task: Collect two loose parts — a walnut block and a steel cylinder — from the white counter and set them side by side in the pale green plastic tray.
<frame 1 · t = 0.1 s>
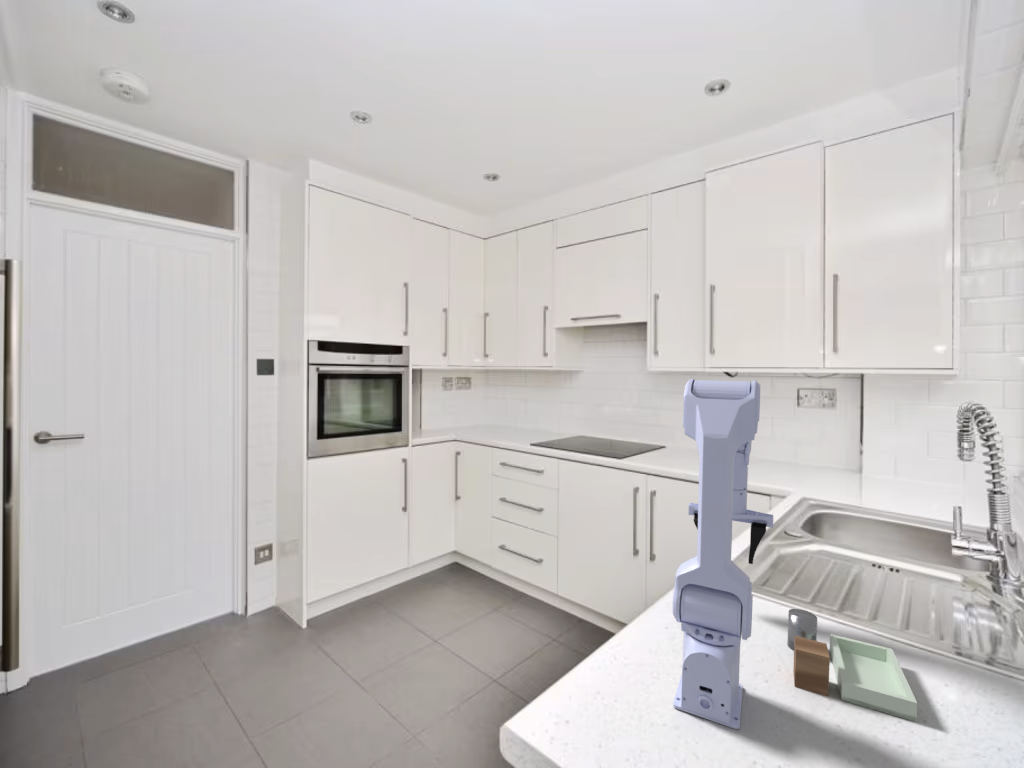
hand: (728, 557, 89), 10 cm above the countertop, tool pointing down, fingers open, 7 cm apart
walnut block: (810, 683, 67), on the countertop
tray: (867, 681, 68), on the countertop
steel cylinder: (801, 648, 76), on the countertop
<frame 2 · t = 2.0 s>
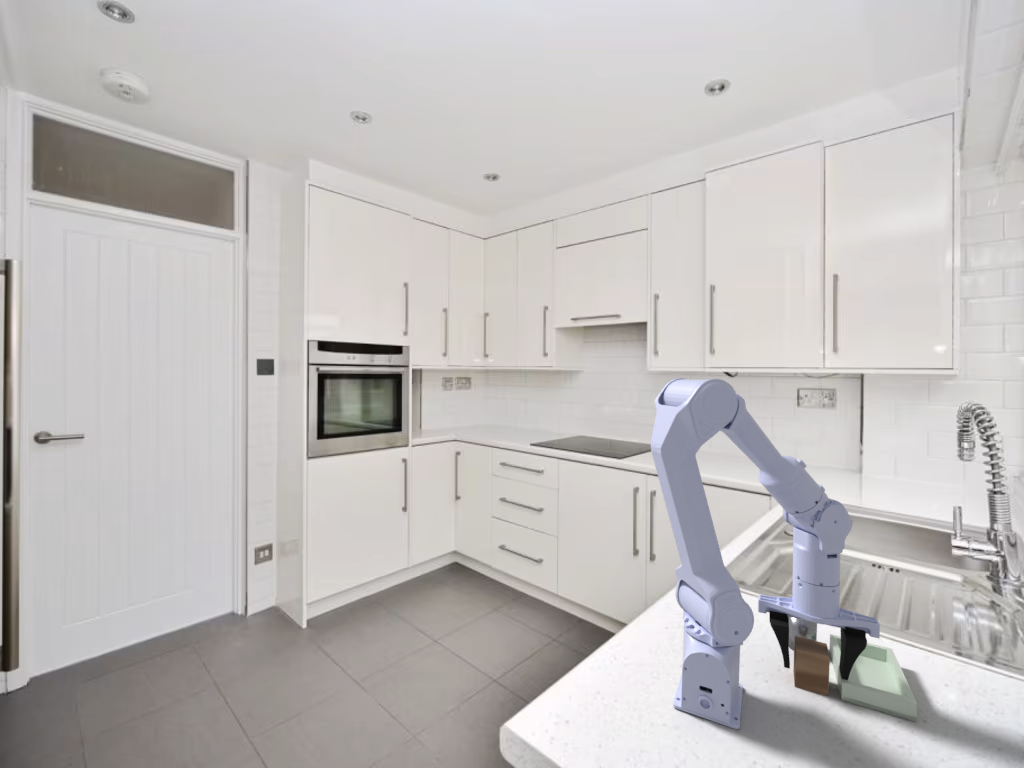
hand: (814, 671, 67), 2 cm above the countertop, tool pointing down, fingers open, 6 cm apart
nothing on the countertop moved.
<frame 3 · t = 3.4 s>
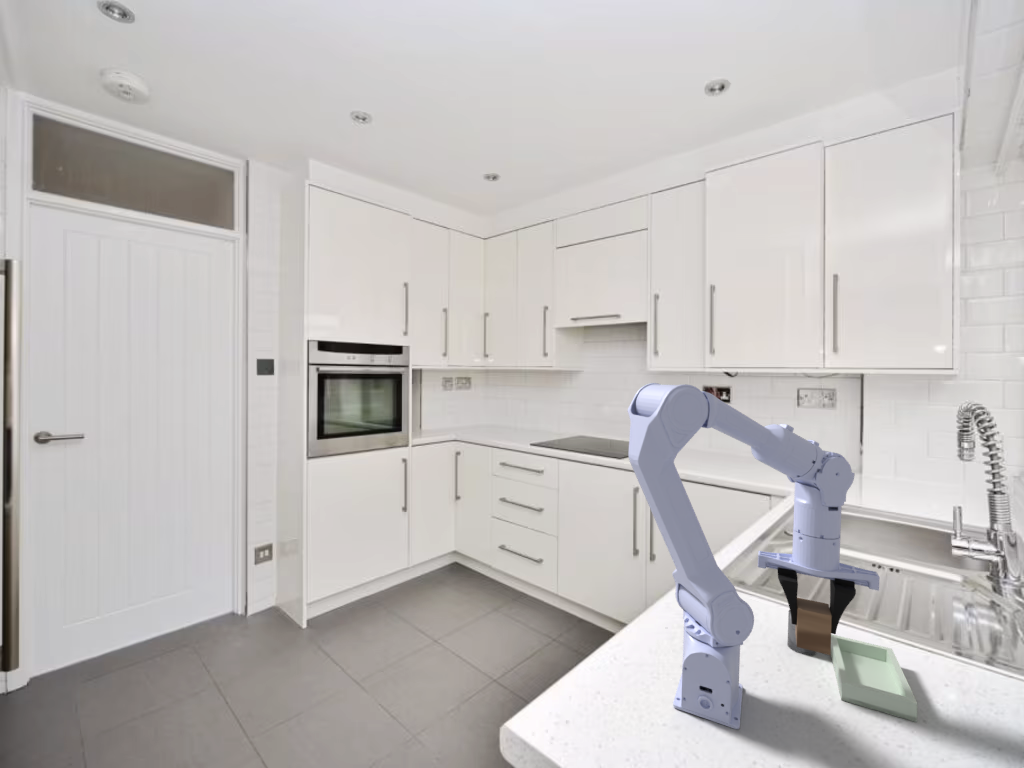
hand: (812, 626, 67), 8 cm above the countertop, tool pointing down, fingers closed on walnut block, 4 cm apart
walnut block: (812, 644, 67), point 6 cm above the countertop, touching gripper
everything else where it was.
when the fingers open (3 cm above the countertop, at t = 11.0 s): walnut block stays where it is, resting on tray.
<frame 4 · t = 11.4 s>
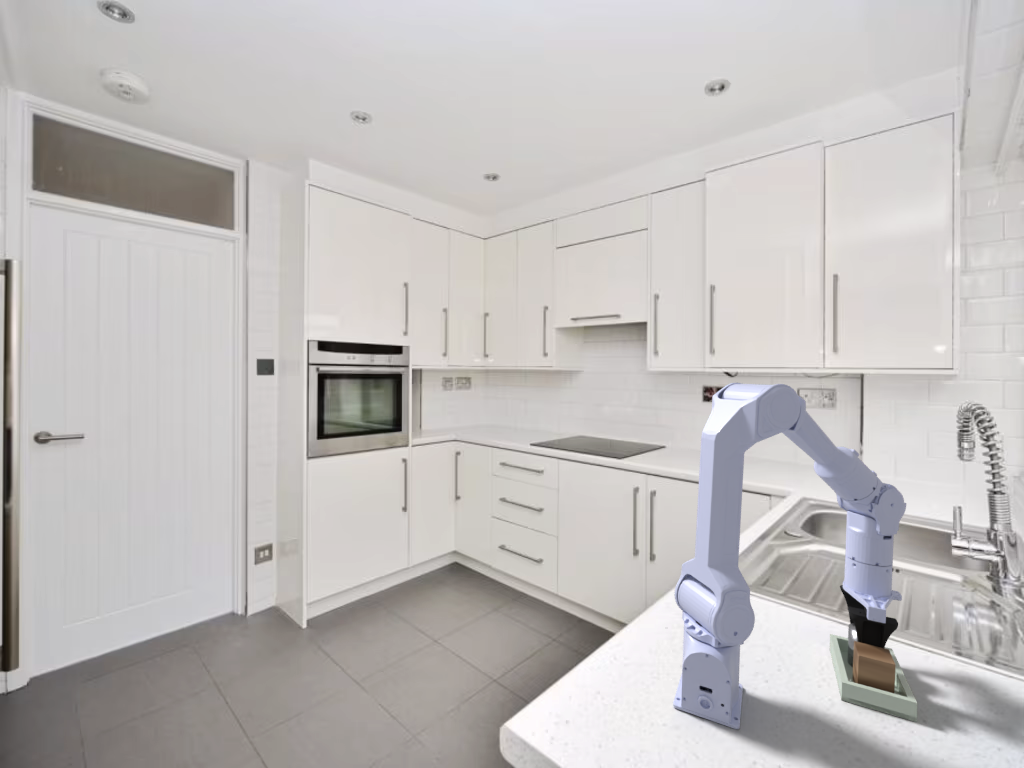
hand: (865, 647, 71), 3 cm above the countertop, tool pointing down, fingers open, 6 cm apart
walnut block: (872, 690, 65), point 1 cm above the countertop, touching gripper, tray
steel cylinder: (863, 666, 71), point 1 cm above the countertop, touching tray
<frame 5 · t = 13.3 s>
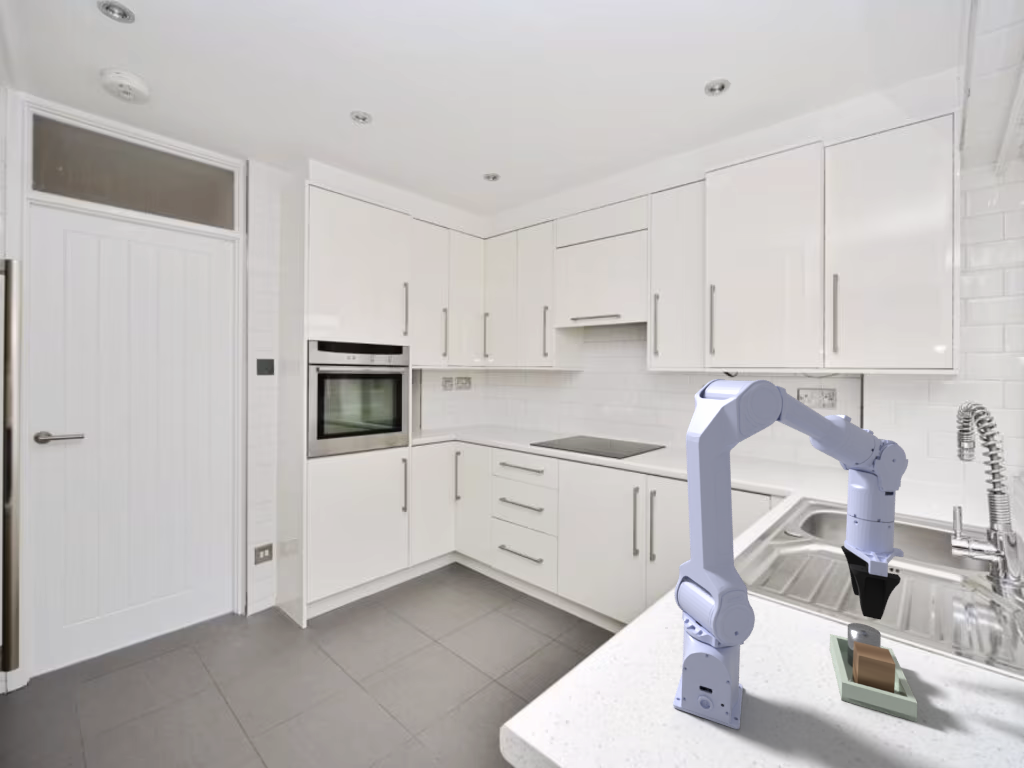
hand: (866, 605, 71), 10 cm above the countertop, tool pointing down, fingers open, 7 cm apart
walnut block: (872, 691, 65), point 1 cm above the countertop, touching tray
everything else where it was.
at the end: walnut block inside the target area on the tray (3.5 cm from its centre), point 0.6 cm above the tray's base; steel cylinder inside the target area on the tray (3.0 cm from its centre), point 0.7 cm above the tray's base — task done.
